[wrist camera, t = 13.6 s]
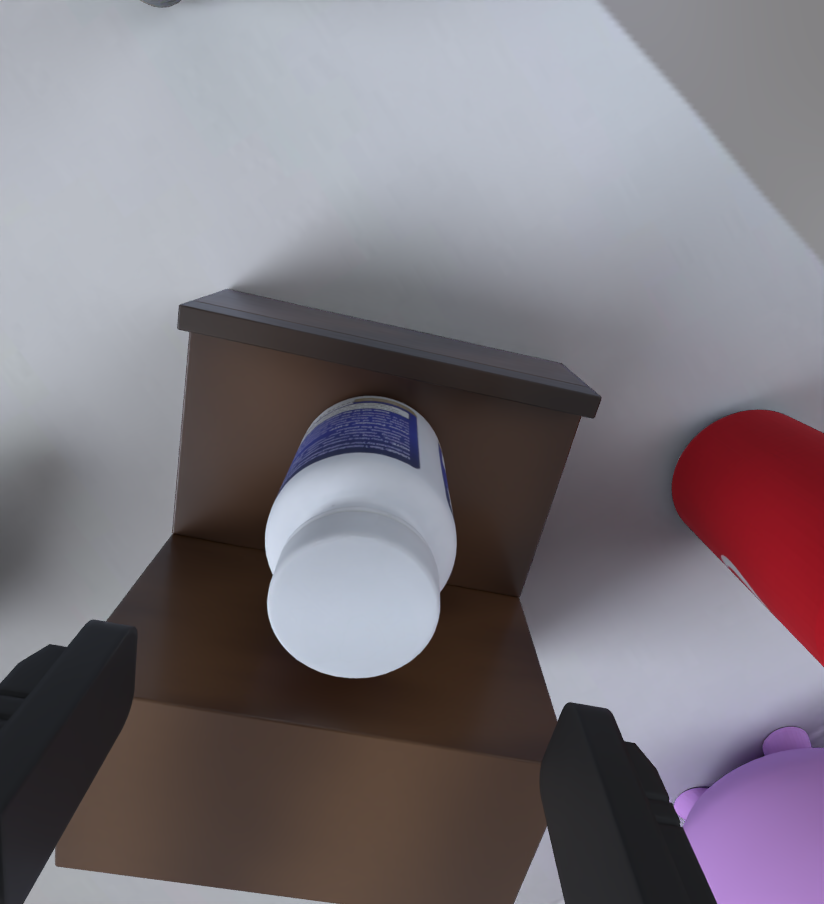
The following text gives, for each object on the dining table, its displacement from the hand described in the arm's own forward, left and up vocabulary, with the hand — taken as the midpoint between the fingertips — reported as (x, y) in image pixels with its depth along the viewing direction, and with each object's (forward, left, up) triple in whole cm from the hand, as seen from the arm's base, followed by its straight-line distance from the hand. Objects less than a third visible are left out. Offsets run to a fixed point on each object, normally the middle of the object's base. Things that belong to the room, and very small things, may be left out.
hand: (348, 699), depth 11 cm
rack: (0, +4, -16) cm, 16 cm away
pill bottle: (0, 0, -12) cm, 12 cm away
